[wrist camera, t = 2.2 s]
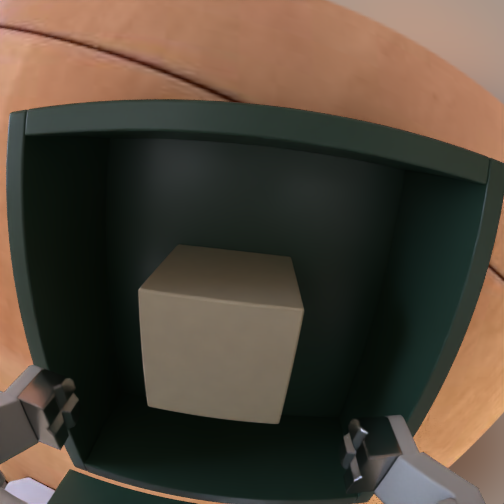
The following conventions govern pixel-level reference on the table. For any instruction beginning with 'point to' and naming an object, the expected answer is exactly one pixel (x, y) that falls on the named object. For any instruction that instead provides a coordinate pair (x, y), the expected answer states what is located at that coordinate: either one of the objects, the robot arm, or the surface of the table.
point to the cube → (220, 333)
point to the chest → (247, 240)
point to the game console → (30, 491)
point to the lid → (100, 492)
